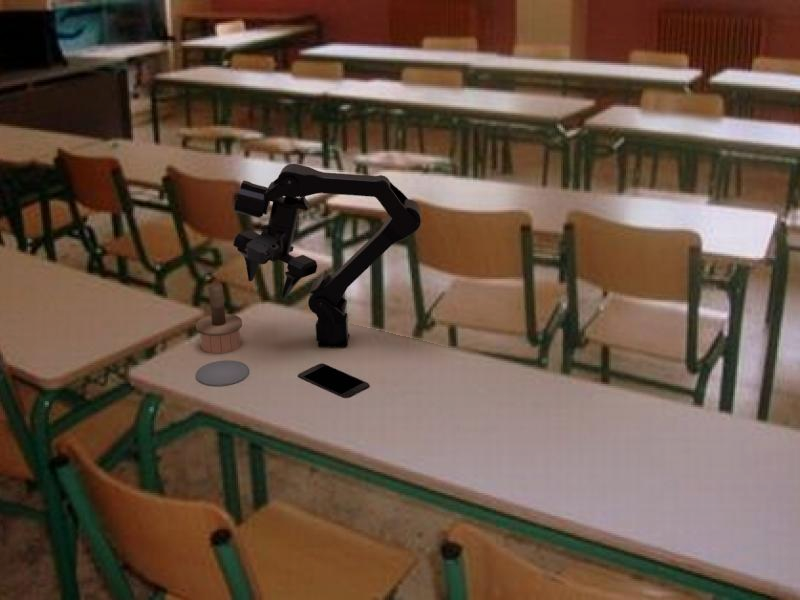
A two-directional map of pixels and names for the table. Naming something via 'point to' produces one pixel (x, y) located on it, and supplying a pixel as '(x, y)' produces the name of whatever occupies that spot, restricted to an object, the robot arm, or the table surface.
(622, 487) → the table surface
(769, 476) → the table surface
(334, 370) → the smartphone
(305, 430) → the table surface
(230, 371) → the mat
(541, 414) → the table surface
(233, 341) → the bowl
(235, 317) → the post with round base
